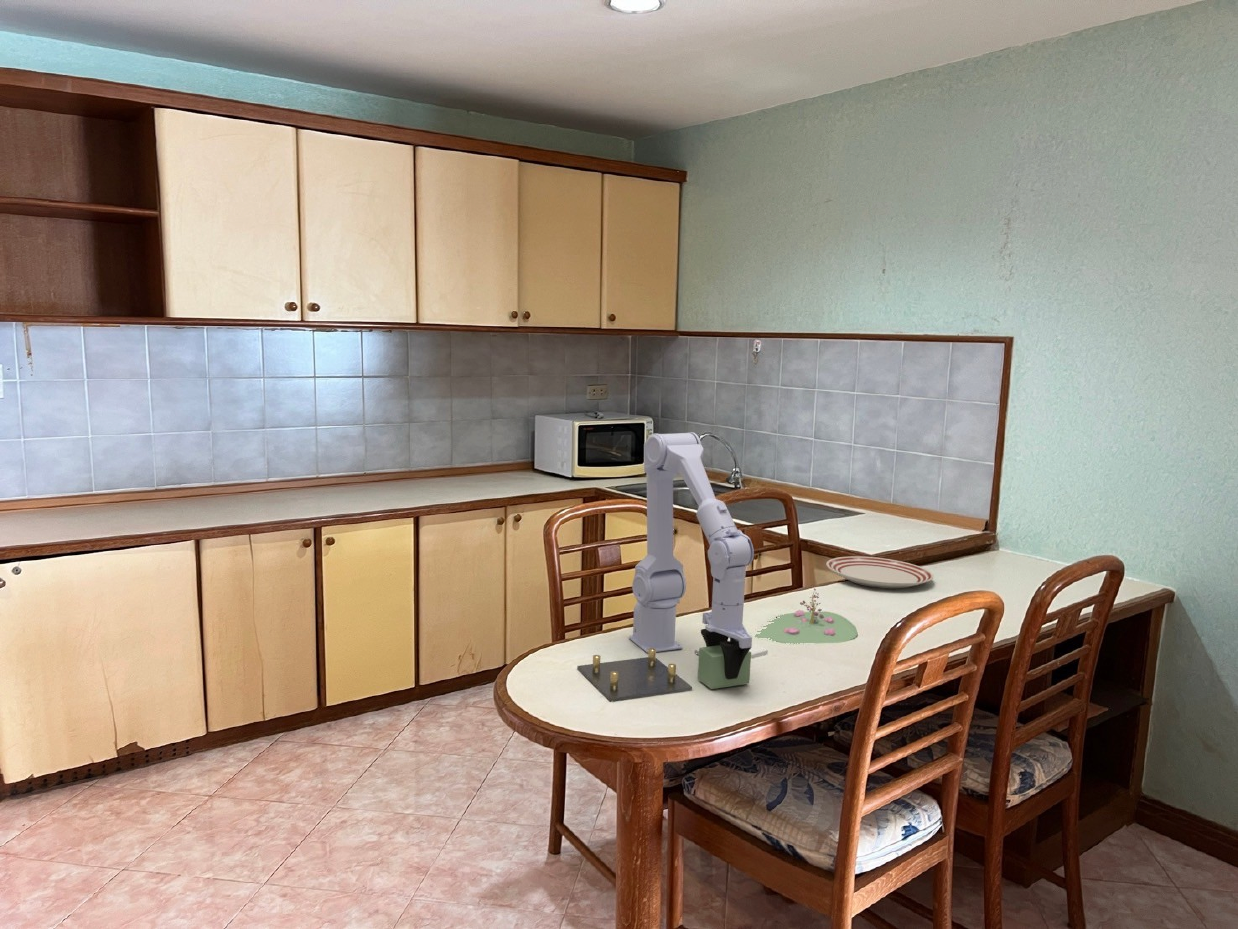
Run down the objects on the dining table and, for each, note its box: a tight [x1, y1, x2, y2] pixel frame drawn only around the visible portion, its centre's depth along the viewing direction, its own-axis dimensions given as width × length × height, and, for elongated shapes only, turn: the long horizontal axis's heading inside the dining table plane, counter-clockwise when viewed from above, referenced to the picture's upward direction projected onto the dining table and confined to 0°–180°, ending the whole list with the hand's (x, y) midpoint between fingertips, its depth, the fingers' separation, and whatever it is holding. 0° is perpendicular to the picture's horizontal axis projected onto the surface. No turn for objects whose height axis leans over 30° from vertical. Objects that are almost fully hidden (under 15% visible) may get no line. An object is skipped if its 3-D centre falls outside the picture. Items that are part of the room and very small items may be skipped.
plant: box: [754, 587, 859, 645], centre depth 199 cm, size 25×21×9 cm
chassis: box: [576, 648, 693, 703], centre depth 168 cm, size 16×16×4 cm
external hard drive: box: [694, 642, 769, 659], centre depth 184 cm, size 2×8×12 cm
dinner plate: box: [825, 555, 934, 590], centre depth 243 cm, size 28×27×3 cm
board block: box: [697, 645, 752, 690], centre depth 168 cm, size 5×8×6 cm, turn 114°
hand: (723, 672), depth 168 cm, fingers closed on board block, 5 cm apart
